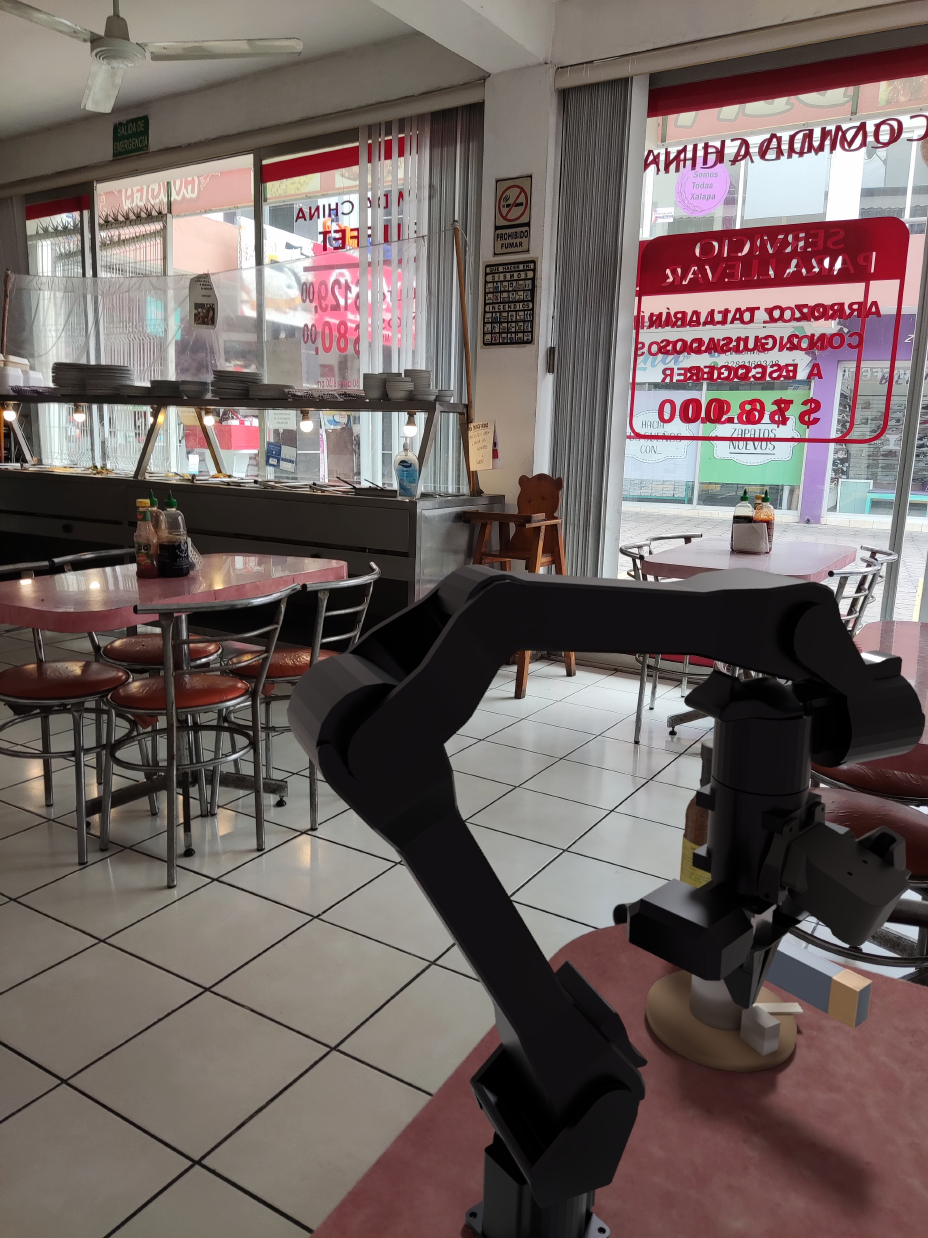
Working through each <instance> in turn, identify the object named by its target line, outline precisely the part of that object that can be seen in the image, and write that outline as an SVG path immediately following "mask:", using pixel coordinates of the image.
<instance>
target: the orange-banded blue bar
mask: <svg viewBox="0 0 928 1238" xmlns="http://www.w3.org/2000/svg"><path fill="white" fill-rule="evenodd" d="M764 981H766V982H768V983H770V984H771V985H773V986H775V987H777V988H779V989H781V990H783V991H784V992H786V993H788V994H790V995H792V996H794V997H796V998H797V999H798V1000H799V999H800V1000H801V1001H803V1002H804V1003H806V1004H809V1006H810V1005H811V1006H812V1007H814V1008H816V1009H818V1010H820V1011H821V1012H824V1013H825V1014H827V1015H828V1016H829V1017H830V1018H833V1019H834V1020H837V1021H838V1022H840V1023H842V1024H844V1025H846V1026H847V1027H848V1028H851V1029H852V1030H854V1029H856V1028H857V1027H858V1026H860V1025H861V1024H863V1023H864V1022H865V1021H866V1020H868V1019H869V1012H870V1005H871V998H872V997H871V996H872V989H873V988H872V987H873V980H871V979H868V978H866V977H865V976H862V975H860V974H858V973H857V972H854V971H852V970H850V969H848V968H844V967H842V966H840V965H838V964H836V963H834V962H832V961H831V960H828V959H826V958H824V957H822V956H820V955H818V954H817V953H814V952H813V951H810V950H809V949H806V948H804V947H803V946H800V945H798V944H796V943H794V942H792V941H790V940H787V939H786V938H784V937H783V938H782V940H781V942H780V944H779V946H778V949H777V951H776V953H775V956H774V958H773V961H772V963H771V965H770V968H769V970H768V973H767V975H766V977H765V980H764Z"/></svg>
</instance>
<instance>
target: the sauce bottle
mask: <svg viewBox="0 0 928 1238" xmlns="http://www.w3.org/2000/svg"><path fill="white" fill-rule="evenodd" d="M699 753H700V759H701V771H700V772H701V773H700V778H699V786H700V788H702V787H704V786H706V785H708V784H710V783H711V771H712V754H713V737H710V738H706V739H703V740H702V741H701V744H700V752H699ZM700 788H699V789H700ZM684 819H685V822H684V831H683V834H682V845H681V855H680V856H681V857H680V858H681V859H680V860H681V861H680V871H679V874H680V875H679V880H680V881H682V882H684V883H687V884H689V885H691V886H694V887H696V888H699V887H701V886H703V885H704V884H706V883H707V882H709V881H710V880H712V879H711V874H710V873H708V872H705V871H703V870H700V869H698V868H695V867H693V866H692V860H693V851H695V850H696V849H698V848H700V847H702V846H703V845H705V844H707V837H708V819H709V810H708V809H705V808H702V807H699V806H696V793H695V794H694V796H693V797H692V798H691V799H690V800H689V802H688V804H687V806H686V809H685V816H684Z"/></svg>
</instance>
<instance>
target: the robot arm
mask: <svg viewBox="0 0 928 1238" xmlns="http://www.w3.org/2000/svg"><path fill="white" fill-rule="evenodd" d="M835 593H836V592H835V590H834V589H832V588H831V587H830V586H829V585H827V584H824V583H821V582H817V581H813V580H808V579H804V578H803V579H802V578H799V577H793V576H789V575H783V574H780V573H779V574H778V573H774V572H769V571H765V570H760V569H759V570H758V569H754V568H750V567H735V568H733V567H732V568H728V569H720V570H713V571H706V572H700V573H697V574H695V575H691V576H690V577H688V578H685V579H681V580H673V581H653V580H640V579H639V580H638V579H637V580H636V579H625V578H624V579H623V578H609V577H594V576H581V575H580V576H579V575H569V574H568V575H567V574H566V575H565V574H553V573H551V574H550V573H540V572H539V573H538V572H536V573H535V572H522V571H521V572H520V571H511V570H510V571H506V570H497V569H495V568H491V567H489V566H485V565H481V564H478V563H477V564H468V565H462V566H460V567H458V568H456V569H454V570H452V571H451V572H450V573H449V574H447V575H446V576H445V577H444V578H443V579H442V580H440V581H439V582H438V583H437V584H436V585H435V586H433V588H431V590H430V591H428V592H427V593H426V594H425V595H423V597H421V598H420V599H418V600H417V601H414V602H412V603H411V604H410V605H408V606H406V607H405V608H403V609H401V610H400V611H398V612H397V613H395V614H393V615H392V616H390V617H388V618H387V619H384V620H383V621H381V622H380V623H378V624H376V625H375V626H373V627H372V628H371V629H369V630H368V631H366V633H364V634H363V635H362V636H361V637H360V638H359V639H358V640H357V641H356V642H354V643H353V644H352V645H351V646H349V648H348V649H347V650H346V651H344V652H343V653H341V654H335V655H330V656H328V657H325V658H323V659H321V660H319V661H316V662H314V664H312V665H311V666H310V667H309V668H308V669H307V670H306V671H305V672H303V673H302V674H301V675H300V677H299V679H298V681H297V682H296V684H295V685H294V687H293V689H292V691H291V694H290V698H289V702H288V707H287V709H286V715H287V723H288V726H289V728H290V729H291V732H292V734H293V737H294V738H295V740H296V741H297V742H298V744H299V746H300V747H301V748H302V749H303V751H304V752H305V754H306V755H307V757H308V758H309V760H310V761H311V762H312V764H313V765H314V767H315V768H316V770H317V771H318V773H319V774H320V775H321V777H322V778H323V779H324V781H325V782H326V784H327V785H328V786H329V787H330V789H332V791H333V792H334V793H336V795H337V796H338V797H339V798H340V800H342V801H343V802H344V803H346V805H347V806H348V807H349V808H350V809H351V810H352V811H353V812H354V813H355V814H356V815H357V816H358V817H359V818H360V819H361V820H362V821H363V822H364V823H365V824H366V825H367V826H368V827H369V828H370V829H371V831H373V832H374V833H376V834H377V835H378V837H380V838H381V839H382V840H384V842H385V843H386V844H388V845H389V846H390V847H391V848H392V849H394V851H395V853H396V854H397V855H398V857H399V859H400V860H401V861H402V864H403V865H404V867H405V869H406V870H407V871H408V873H409V874H410V875H411V877H412V879H413V880H414V882H415V883H416V885H417V886H418V888H419V889H420V892H421V893H422V894H423V895H424V898H425V899H426V901H427V902H428V904H429V905H430V907H431V908H432V909H433V911H434V913H435V914H436V917H437V918H438V920H439V921H440V922H441V924H442V925H443V927H444V929H445V930H446V931H447V934H448V935H449V936H450V937H451V939H452V941H453V942H454V944H455V945H456V947H457V948H458V950H459V952H460V953H461V955H462V956H463V958H464V960H465V962H467V964H468V966H469V967H470V969H471V971H472V972H473V973H474V975H475V976H476V978H477V980H478V981H479V983H480V985H481V986H482V987H483V989H484V990H485V992H486V993H487V996H488V997H489V998H490V1000H491V1003H492V1005H493V1008H494V1009H493V1011H494V1017H495V1027H496V1030H497V1033H498V1036H499V1037H500V1041H501V1042H500V1043H499V1044H498V1046H497V1047H496V1048H495V1049H494V1051H492V1053H491V1054H490V1055H489V1057H487V1059H486V1060H485V1061H484V1062H483V1063H482V1065H480V1067H479V1069H478V1070H476V1072H475V1073H474V1074H473V1075H472V1076H471V1077H470V1079H469V1086H470V1088H471V1091H472V1094H473V1096H474V1099H475V1102H476V1104H477V1106H478V1107H479V1109H480V1110H481V1111H483V1113H484V1115H485V1116H486V1118H487V1119H488V1122H490V1124H491V1126H492V1128H493V1130H494V1133H493V1138H492V1142H491V1144H488V1145H487V1146H486V1147H485V1148H484V1152H483V1153H484V1157H483V1178H482V1179H483V1180H482V1181H483V1183H482V1185H483V1186H482V1200H481V1201H479V1202H477V1203H476V1204H475V1205H473V1206H472V1207H470V1208H468V1209H467V1211H466V1212H465V1214H464V1222H465V1224H466V1226H467V1227H468V1228H469V1229H470V1231H471V1232H473V1234H474V1235H475V1236H476V1237H477V1238H610V1237H611V1230H610V1228H609V1226H608V1225H607V1224H606V1223H605V1222H603V1220H602V1219H600V1218H599V1217H598V1216H597V1215H596V1214H595V1213H594V1212H593V1211H592V1209H593V1208H594V1207H595V1203H596V1202H595V1201H596V1200H595V1199H596V1190H598V1189H602V1188H604V1187H607V1186H609V1185H611V1184H612V1182H613V1181H614V1178H615V1176H616V1175H615V1174H616V1172H617V1170H618V1167H619V1166H620V1163H621V1161H622V1157H623V1154H624V1151H625V1150H626V1146H627V1144H628V1141H629V1139H630V1136H631V1134H632V1131H633V1128H634V1127H635V1123H636V1120H637V1118H638V1113H639V1106H640V1103H641V1101H644V1100H645V1097H646V1083H645V1080H644V1077H643V1074H642V1073H641V1072H640V1071H641V1070H639V1068H643V1067H646V1066H647V1065H648V1064H649V1061H648V1060H647V1058H646V1057H645V1056H644V1055H643V1054H642V1053H641V1052H640V1051H639V1049H638V1048H637V1047H636V1046H635V1045H634V1044H633V1043H632V1042H631V1041H630V1038H629V1035H628V1031H627V1029H626V1027H625V1024H624V1022H623V1021H622V1018H621V1016H620V1014H619V1013H618V1012H617V1010H615V1009H614V1008H613V1006H611V1004H609V1002H608V1000H606V999H605V998H604V996H602V995H601V993H599V992H598V990H597V989H596V988H595V987H594V986H593V985H592V983H590V982H589V980H588V979H587V978H585V976H584V975H583V974H582V973H581V972H580V971H579V970H578V968H577V967H575V965H574V964H573V963H572V962H571V961H570V960H569V959H566V960H565V961H564V962H563V963H562V964H561V966H560V967H559V968H558V969H556V971H554V969H553V968H552V966H551V964H550V962H549V960H547V958H546V956H545V953H543V951H542V949H541V948H540V946H539V944H538V942H537V941H536V939H535V938H534V936H533V934H532V933H531V931H530V929H529V927H528V925H527V924H526V921H525V920H524V918H523V917H522V916H521V913H520V912H519V910H518V909H517V907H516V906H515V904H514V902H513V901H512V899H511V897H510V895H509V894H508V892H507V890H506V889H505V887H504V885H503V884H502V882H501V881H500V879H499V877H498V875H497V874H496V872H495V870H494V868H493V867H492V866H491V864H490V861H489V860H488V858H487V857H486V855H485V853H484V851H483V850H482V848H481V846H480V845H479V844H478V842H477V840H476V839H475V837H474V835H473V833H472V832H471V830H470V828H469V827H468V825H467V824H466V822H465V821H466V820H464V819H463V816H462V814H461V812H460V808H459V806H458V799H457V792H456V784H455V774H454V769H453V766H452V764H451V761H450V757H449V755H448V753H447V749H446V746H445V744H446V743H448V741H449V740H450V739H451V738H452V737H453V736H454V735H456V734H457V733H458V732H459V731H460V730H461V729H462V728H463V727H464V726H465V725H466V724H467V723H468V722H469V720H470V719H472V717H473V715H474V714H475V712H476V710H477V709H478V707H479V705H480V703H481V702H482V700H483V698H484V696H485V695H486V693H487V691H488V689H489V688H490V686H491V685H492V683H493V681H494V679H495V677H496V676H497V674H498V672H499V671H500V669H501V668H502V667H503V666H504V665H505V664H506V663H507V662H508V661H509V660H510V659H511V658H512V657H513V656H515V654H516V653H517V652H519V651H521V652H522V651H523V652H553V653H555V652H557V653H589V654H591V653H593V654H594V653H595V654H625V655H626V654H627V655H628V654H629V655H632V654H633V655H656V656H657V655H659V656H660V655H661V656H662V655H663V656H664V655H665V656H667V655H668V656H694V657H699V658H702V659H707V660H712V661H715V662H719V663H722V664H725V665H728V666H731V667H736V668H739V669H743V670H746V671H750V672H753V673H757V674H762V675H766V676H758V677H753V678H745V679H741V678H739V677H737V676H735V675H732V674H730V673H727V672H724V671H722V670H719V669H712V670H711V672H710V673H709V675H708V676H707V677H706V679H705V680H703V681H702V682H701V683H700V684H698V685H697V686H695V687H693V688H692V690H690V692H688V693H687V694H686V695H685V697H684V699H683V702H684V703H683V704H685V706H686V707H688V708H690V709H692V710H694V711H697V712H699V713H702V714H703V715H706V716H708V717H711V718H712V719H714V721H713V723H714V724H713V737H712V738H713V754H712V771H711V783H710V784H708V785H706V786H704V787H702V788H698V789H696V791H695V792H696V793H695V794H696V806H699V807H702V808H705V809H708V810H709V819H708V837H707V844H705V845H703V846H702V847H700V848H698V849H696V850H695V851H693V860H692V866H693V867H695V868H698V869H700V870H703V871H705V872H708V873H710V874H711V879H712V880H710V881H709V882H707V883H706V884H704V885H703V886H701V887H699V888H696V887H694V886H691V885H689V884H687V883H684V882H682V881H680V879H677V878H671V879H670V880H669V881H666V883H664V884H663V885H661V886H659V887H657V888H656V889H654V890H652V891H651V892H649V893H648V894H646V895H644V896H643V897H641V898H639V899H638V900H636V901H634V902H632V903H631V904H630V905H628V906H627V919H626V937H627V941H628V943H629V944H631V945H632V946H635V947H637V948H639V949H642V950H644V951H645V952H647V953H649V954H651V955H653V956H655V957H656V958H659V959H661V960H663V961H665V962H667V963H669V964H671V965H673V966H675V967H677V968H679V969H681V970H682V971H684V970H685V971H687V972H689V973H691V974H693V975H695V976H697V977H699V978H701V979H703V980H705V981H721V980H722V979H723V980H724V983H725V985H726V987H727V989H728V991H729V994H730V996H731V998H732V1000H733V1002H734V1003H735V1004H737V1005H739V1006H741V1007H743V1008H745V1009H749V1008H750V1007H751V1006H752V1005H753V1004H754V1003H755V1002H756V999H757V997H758V994H759V992H760V989H761V987H762V986H763V985H764V982H765V981H766V980H765V977H766V975H767V973H768V970H769V968H770V965H771V963H772V961H773V958H774V956H775V953H776V951H777V949H778V946H779V944H780V942H781V940H782V938H784V937H785V936H786V935H787V934H789V932H790V929H792V928H794V927H796V926H798V925H800V924H801V923H802V922H804V921H805V920H806V919H808V918H809V917H810V916H812V917H814V919H816V920H818V921H819V922H820V923H821V924H823V925H824V926H825V927H826V928H828V929H829V930H830V932H831V934H832V936H833V937H835V938H836V939H837V940H839V941H840V942H841V943H844V944H846V945H848V946H851V947H861V946H863V945H864V944H865V943H866V942H867V940H868V939H870V937H872V935H874V934H875V933H876V932H877V931H878V930H879V929H880V928H882V927H884V926H885V923H886V922H887V920H888V919H889V918H890V916H891V913H893V911H894V909H895V907H896V906H897V904H898V902H899V901H900V899H901V897H902V896H904V894H905V893H906V892H907V891H908V890H909V889H910V886H911V884H910V881H909V878H910V875H911V874H912V871H910V870H909V869H908V868H906V866H907V851H906V850H907V849H906V848H907V847H906V846H907V845H906V839H905V837H903V836H901V835H900V834H898V833H897V832H896V831H895V830H893V829H892V828H889V827H888V826H886V825H882V826H879V827H877V828H875V829H873V830H871V831H869V832H867V833H864V834H863V835H862V836H860V837H858V838H857V836H856V835H855V832H854V831H852V829H851V828H850V827H846V826H843V825H840V824H836V823H834V822H830V821H828V820H826V807H827V806H826V803H825V802H822V800H823V799H822V796H823V795H822V794H820V793H819V794H818V793H815V792H812V791H810V785H811V772H812V763H814V764H815V765H817V766H819V767H823V768H828V769H834V768H839V767H844V766H845V767H846V766H849V765H854V764H859V763H864V762H870V761H874V760H878V759H879V760H880V759H885V758H890V757H895V756H900V755H901V756H902V755H905V754H907V753H909V752H910V751H912V750H913V749H915V747H916V746H917V745H919V743H920V740H921V739H922V737H923V736H924V731H925V727H926V714H925V713H924V712H923V707H922V703H921V700H920V699H919V695H918V693H917V692H916V690H915V688H914V686H913V685H912V684H911V683H910V681H908V680H907V679H906V678H905V677H904V675H902V666H903V658H902V657H901V656H899V655H895V654H892V653H888V652H885V651H880V650H877V649H876V650H868V651H863V652H860V650H859V649H858V647H857V645H856V643H855V641H854V640H853V637H852V636H851V633H850V632H849V630H848V628H847V626H846V624H845V623H844V621H843V618H842V616H841V611H840V606H839V605H840V604H839V602H838V601H837V599H836V597H835V595H836V594H835ZM773 677H774V678H773ZM775 678H778V679H781V680H785V681H789V682H790V684H784V683H782V682H781V681H780V680H777V679H775Z"/></svg>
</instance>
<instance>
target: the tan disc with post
mask: <svg viewBox="0 0 928 1238" xmlns="http://www.w3.org/2000/svg"><path fill="white" fill-rule="evenodd" d="M645 1008H646V1009H645V1010H646V1013H645V1014H646V1015H645V1016H646V1019H647V1022H648V1024H649V1027H650V1028H651V1030H652V1032H653V1034H655V1035H656V1037H657V1038H658V1039H659V1040H660V1041H661V1043H663V1044H664V1045H666V1046H667V1047H668V1048H669V1049H671V1050H672V1051H673V1052H674V1053H677V1054H679V1056H682V1057H683V1058H685V1059H688V1060H690V1061H692V1062H694V1063H697V1064H699V1065H702V1066H704V1067H705V1066H706V1067H709V1068H712V1069H717V1070H720V1071H728V1072H738V1073H745V1072H746V1073H747V1072H749V1073H750V1072H753V1073H754V1072H760V1071H764V1070H768V1069H772V1068H775V1067H777V1066H778V1065H779V1066H780V1064H782V1063H783V1062H785V1061H786V1060H787V1059H788V1058H789V1057H791V1055H792V1053H793V1052H794V1049H795V1047H796V1041H797V1031H798V1027H797V1025H798V1024H797V1021H796V1018H795V1016H794V1015H803V1014H804V1010H803V1008H802V1007H801V1006H800V1004H799V1002H784V1001H783V1000H782V998H780V997H779V996H778V995H777V994H775V993H774V992H772V991H771V990H769V989H768V988H766V987H765V986H763V985H762V987H761V989H760V992H759V994H758V997H757V999H756V1002H755V1003H754V1004H753V1005H752V1006H751V1007H750V1008H749V1009H745V1008H743V1007H741V1006H739V1005H737V1004H735V1003H734V1002H733V1000H732V998H731V996H730V994H729V991H728V989H727V987H726V985H725V983H724V980H723V979H722V980H721V981H705V980H703V979H701V978H699V977H697V976H695V975H693V974H691V973H689V972H687V971H685V970H679V971H675V972H671V973H669V974H666V975H665V976H662V977H660V978H659V979H658V980H657V981H656V982H654V983H653V984H652V986H651V987H650V989H649V991H648V992H647V997H646V1007H645Z"/></svg>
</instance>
